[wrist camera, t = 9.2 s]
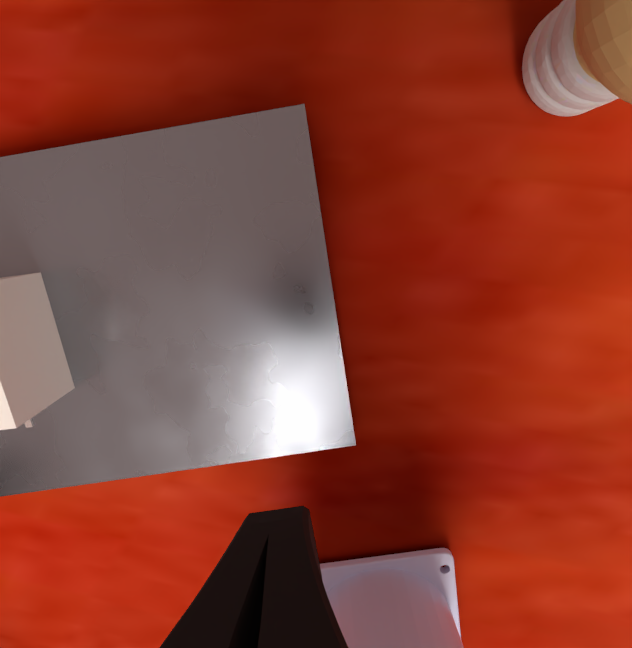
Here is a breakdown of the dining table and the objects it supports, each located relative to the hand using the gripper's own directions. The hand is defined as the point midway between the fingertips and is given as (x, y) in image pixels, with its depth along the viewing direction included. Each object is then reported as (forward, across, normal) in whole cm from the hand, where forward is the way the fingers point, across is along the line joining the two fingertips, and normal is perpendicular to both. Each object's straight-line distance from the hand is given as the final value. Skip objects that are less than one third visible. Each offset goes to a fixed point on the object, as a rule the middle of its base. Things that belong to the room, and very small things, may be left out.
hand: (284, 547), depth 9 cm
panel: (+10, +7, -4) cm, 13 cm away
